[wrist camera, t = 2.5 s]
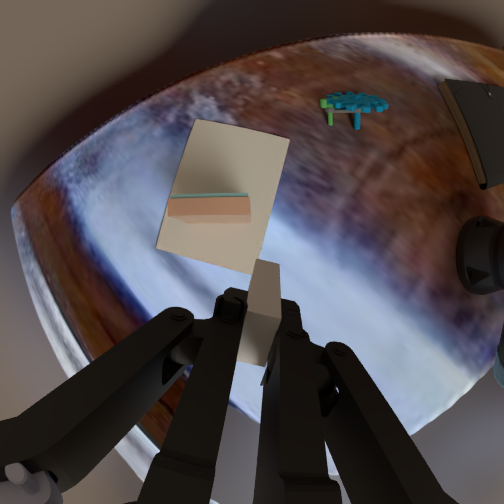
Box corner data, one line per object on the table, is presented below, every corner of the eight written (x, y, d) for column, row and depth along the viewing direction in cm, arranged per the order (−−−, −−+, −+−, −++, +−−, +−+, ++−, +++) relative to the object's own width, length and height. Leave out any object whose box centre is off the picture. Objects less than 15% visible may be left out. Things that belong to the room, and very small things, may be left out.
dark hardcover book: (509, 87, 35) (541, 170, 35) (501, 92, 39) (532, 172, 39) (445, 77, 35) (490, 188, 36) (435, 85, 39) (477, 191, 40)
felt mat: (289, 140, 39) (289, 139, 38) (253, 275, 39) (253, 275, 39) (196, 120, 39) (195, 118, 39) (156, 248, 39) (155, 248, 39)
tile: (250, 223, 39) (249, 214, 29) (188, 223, 39) (167, 216, 29) (250, 206, 39) (249, 192, 29) (188, 207, 39) (168, 194, 29)
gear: (375, 89, 37) (398, 105, 30) (374, 119, 41) (395, 141, 34) (314, 88, 39) (325, 103, 32) (316, 119, 43) (327, 141, 36)
